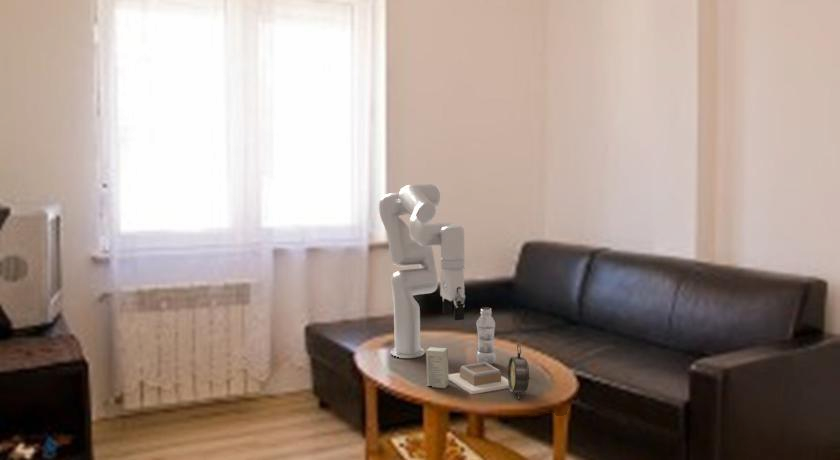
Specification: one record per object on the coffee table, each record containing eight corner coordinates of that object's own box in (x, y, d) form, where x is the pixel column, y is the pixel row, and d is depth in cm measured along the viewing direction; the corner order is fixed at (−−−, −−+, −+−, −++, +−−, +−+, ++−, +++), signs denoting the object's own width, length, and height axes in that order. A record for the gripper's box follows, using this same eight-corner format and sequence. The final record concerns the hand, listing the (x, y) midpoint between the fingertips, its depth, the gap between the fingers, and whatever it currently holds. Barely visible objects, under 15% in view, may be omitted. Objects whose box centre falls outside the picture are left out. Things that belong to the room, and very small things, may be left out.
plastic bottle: (494, 367, 261) (494, 311, 259) (475, 366, 262) (475, 310, 260) (496, 362, 267) (496, 307, 265) (477, 361, 269) (477, 306, 266)
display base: (446, 377, 251) (446, 363, 250) (488, 371, 257) (488, 357, 257) (471, 394, 235) (471, 379, 234) (515, 386, 241) (515, 372, 240)
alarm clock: (506, 389, 239) (507, 339, 237) (523, 388, 239) (523, 339, 237) (514, 401, 228) (514, 349, 226) (531, 400, 228) (531, 348, 226)
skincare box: (449, 384, 244) (448, 347, 243) (445, 388, 240) (444, 351, 239) (430, 382, 246) (429, 346, 245) (426, 386, 242) (425, 349, 241)
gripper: (432, 261, 248) (433, 312, 250) (452, 269, 231) (452, 323, 233) (453, 259, 250) (453, 310, 252) (474, 267, 234) (474, 321, 236)
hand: (453, 316), depth 243 cm, fingers open, 9 cm apart
